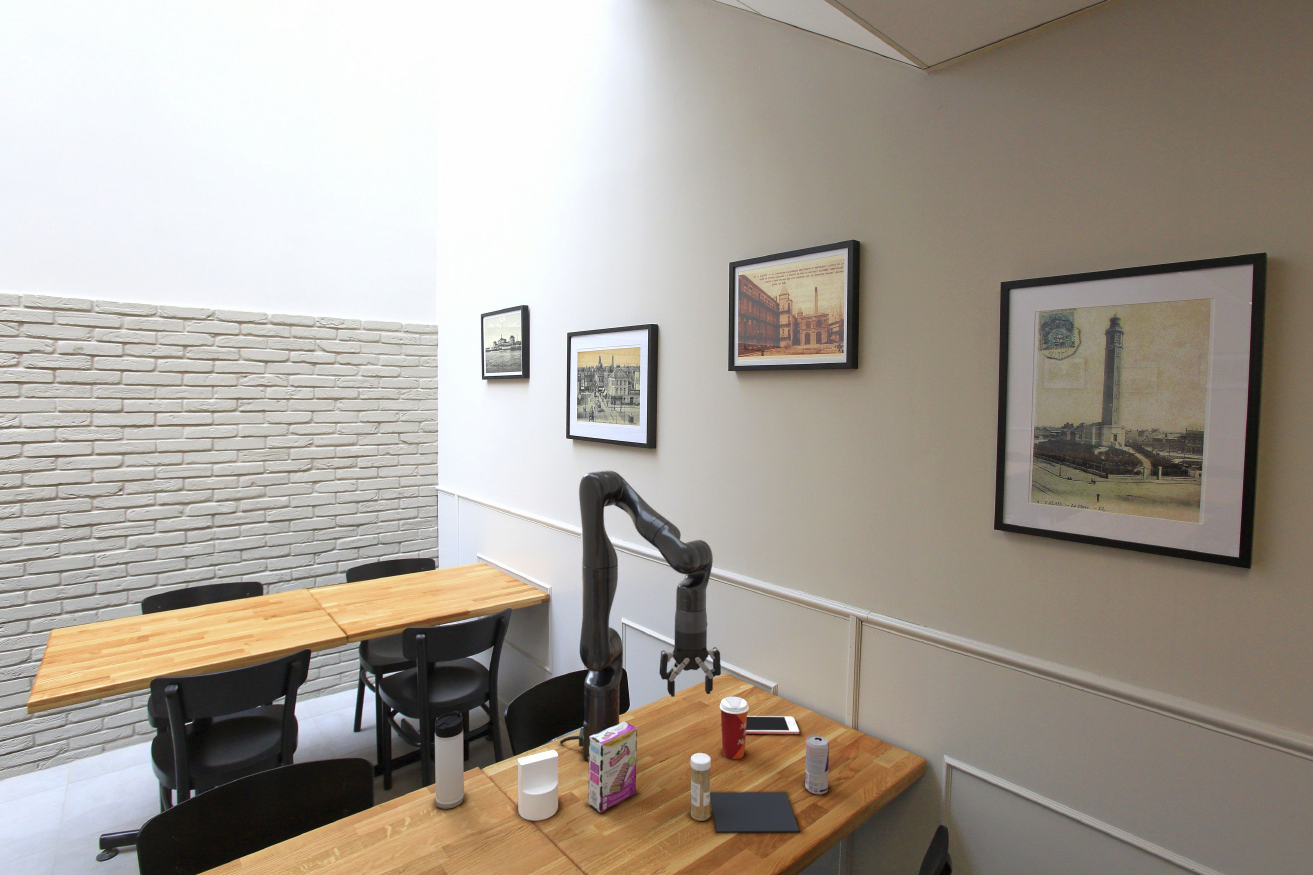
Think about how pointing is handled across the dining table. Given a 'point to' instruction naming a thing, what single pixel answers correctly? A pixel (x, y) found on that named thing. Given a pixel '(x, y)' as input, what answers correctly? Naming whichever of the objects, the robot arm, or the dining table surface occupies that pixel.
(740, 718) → the paper cup
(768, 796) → the rubber mat
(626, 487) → the robot arm
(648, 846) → the dining table surface
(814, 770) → the energy drink
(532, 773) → the base with upright slab
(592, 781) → the candy bar box
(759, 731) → the cell phone
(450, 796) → the travel mug
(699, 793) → the sprinkles bottle
